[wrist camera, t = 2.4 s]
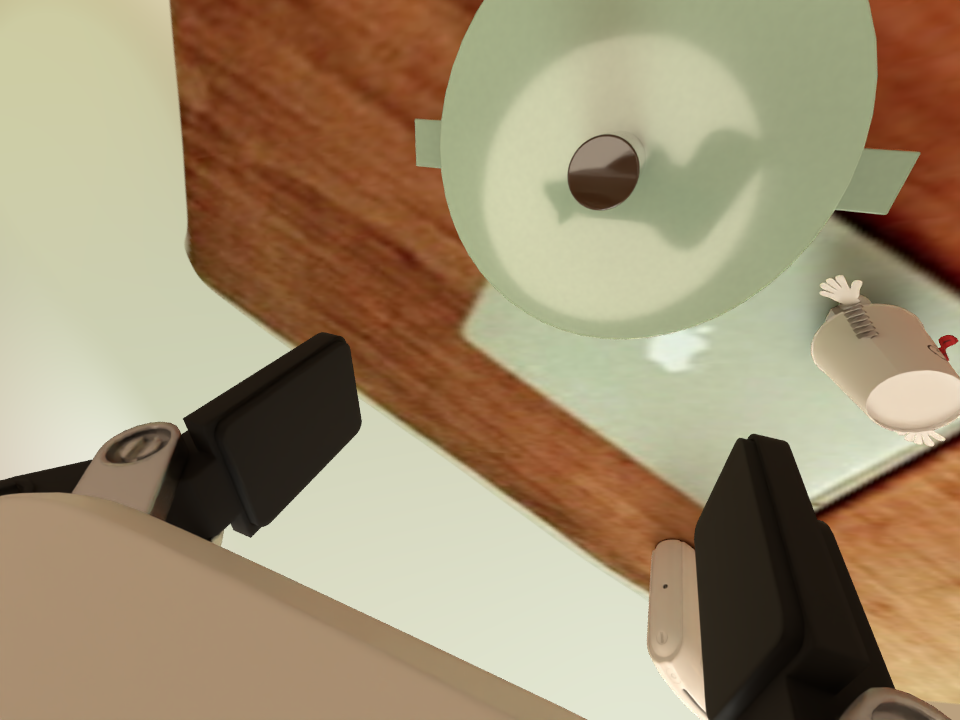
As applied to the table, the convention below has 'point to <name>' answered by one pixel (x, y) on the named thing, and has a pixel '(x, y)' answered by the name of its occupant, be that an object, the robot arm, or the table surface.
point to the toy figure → (887, 363)
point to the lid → (651, 150)
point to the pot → (866, 193)
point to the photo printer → (676, 623)
